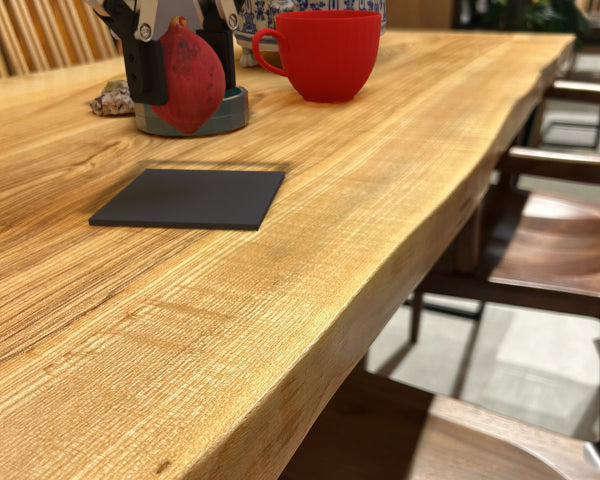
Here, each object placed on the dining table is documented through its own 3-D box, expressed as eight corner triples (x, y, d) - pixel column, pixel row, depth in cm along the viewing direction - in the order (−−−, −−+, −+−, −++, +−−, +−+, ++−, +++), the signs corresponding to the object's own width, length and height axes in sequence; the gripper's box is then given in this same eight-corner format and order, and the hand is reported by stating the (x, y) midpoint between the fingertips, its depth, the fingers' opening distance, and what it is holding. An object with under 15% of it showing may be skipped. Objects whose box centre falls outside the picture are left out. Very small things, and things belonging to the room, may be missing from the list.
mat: (88, 225, 44) (87, 218, 44) (147, 174, 55) (146, 168, 55) (258, 231, 43) (257, 224, 43) (285, 177, 53) (284, 171, 53)
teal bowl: (120, 138, 66) (115, 103, 64) (158, 112, 77) (154, 82, 75) (235, 139, 65) (233, 104, 63) (257, 113, 75) (256, 82, 74)
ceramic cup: (233, 100, 83) (227, 15, 78) (341, 86, 90) (342, 8, 85) (281, 118, 73) (278, 23, 68) (399, 100, 80) (403, 13, 75)
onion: (231, 142, 44) (222, 17, 41) (147, 147, 44) (130, 20, 40) (226, 123, 49) (218, 10, 46) (150, 127, 49) (136, 13, 45)
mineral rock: (164, 94, 75) (93, 78, 72) (159, 131, 76) (88, 118, 73) (155, 82, 84) (91, 68, 81) (150, 116, 85) (87, 103, 82)
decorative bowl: (372, 79, 94) (376, -35, 87) (201, 76, 99) (192, -32, 92) (393, 44, 131) (397, -39, 124) (267, 43, 136) (264, -36, 129)
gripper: (211, -196, 45) (229, 74, 53) (-25, -247, 33) (47, 111, 41) (295, -213, 41) (301, 82, 49) (61, -279, 29) (122, 126, 37)
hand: (185, 92), depth 45 cm, fingers closed on onion, 5 cm apart
